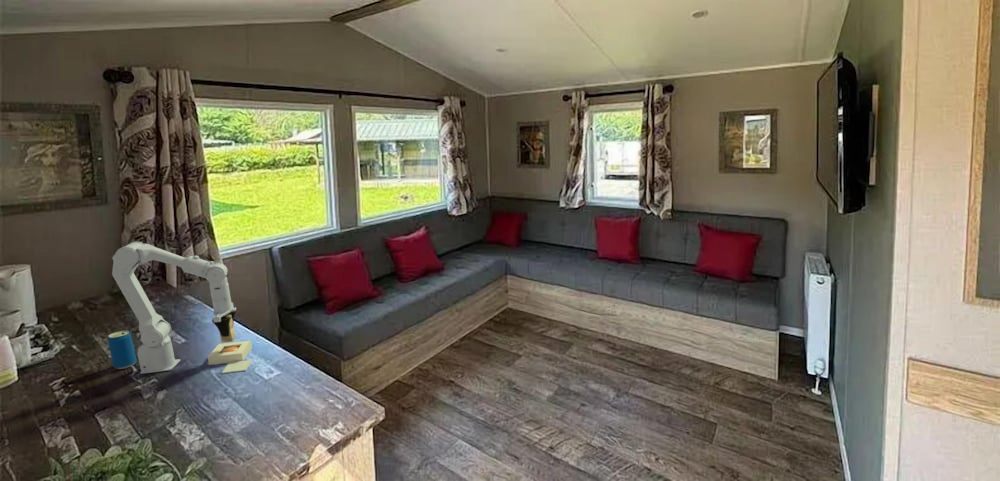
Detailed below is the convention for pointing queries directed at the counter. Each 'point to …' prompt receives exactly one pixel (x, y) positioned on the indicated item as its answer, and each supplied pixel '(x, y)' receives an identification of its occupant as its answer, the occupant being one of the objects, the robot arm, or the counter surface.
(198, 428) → the counter surface
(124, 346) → the beverage can
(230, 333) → the wood grain block
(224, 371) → the rubber mat
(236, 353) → the cream square frame
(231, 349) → the button
